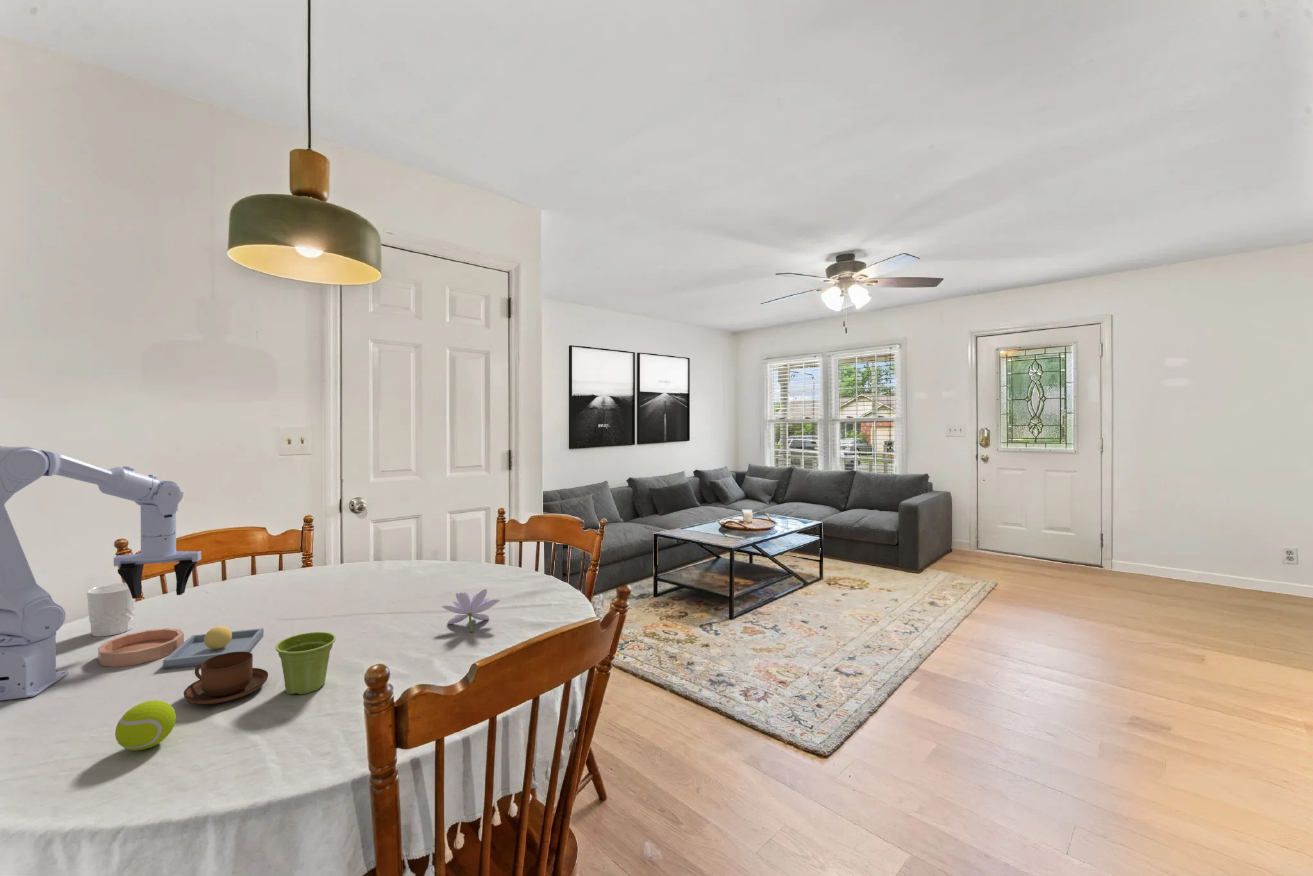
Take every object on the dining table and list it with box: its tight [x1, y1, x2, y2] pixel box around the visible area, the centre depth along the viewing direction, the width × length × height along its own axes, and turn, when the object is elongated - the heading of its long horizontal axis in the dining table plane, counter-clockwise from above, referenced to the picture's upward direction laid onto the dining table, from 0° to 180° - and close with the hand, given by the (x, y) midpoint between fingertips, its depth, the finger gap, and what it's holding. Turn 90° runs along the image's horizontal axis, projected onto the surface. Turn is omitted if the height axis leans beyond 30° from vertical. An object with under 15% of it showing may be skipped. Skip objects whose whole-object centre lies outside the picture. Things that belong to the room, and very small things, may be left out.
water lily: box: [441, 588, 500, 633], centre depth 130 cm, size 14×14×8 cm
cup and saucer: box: [183, 651, 269, 705], centre depth 97 cm, size 12×12×6 cm
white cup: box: [86, 582, 136, 637], centre depth 123 cm, size 8×8×10 cm
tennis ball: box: [114, 699, 177, 752], centre depth 81 cm, size 7×7×7 cm
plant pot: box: [274, 631, 337, 695], centre depth 100 cm, size 9×9×9 cm
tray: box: [162, 627, 265, 670], centre depth 114 cm, size 13×13×2 cm
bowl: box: [97, 627, 185, 668], centre depth 112 cm, size 13×13×3 cm
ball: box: [204, 625, 232, 649], centre depth 114 cm, size 5×5×5 cm
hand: (159, 595), depth 119 cm, fingers open, 7 cm apart
